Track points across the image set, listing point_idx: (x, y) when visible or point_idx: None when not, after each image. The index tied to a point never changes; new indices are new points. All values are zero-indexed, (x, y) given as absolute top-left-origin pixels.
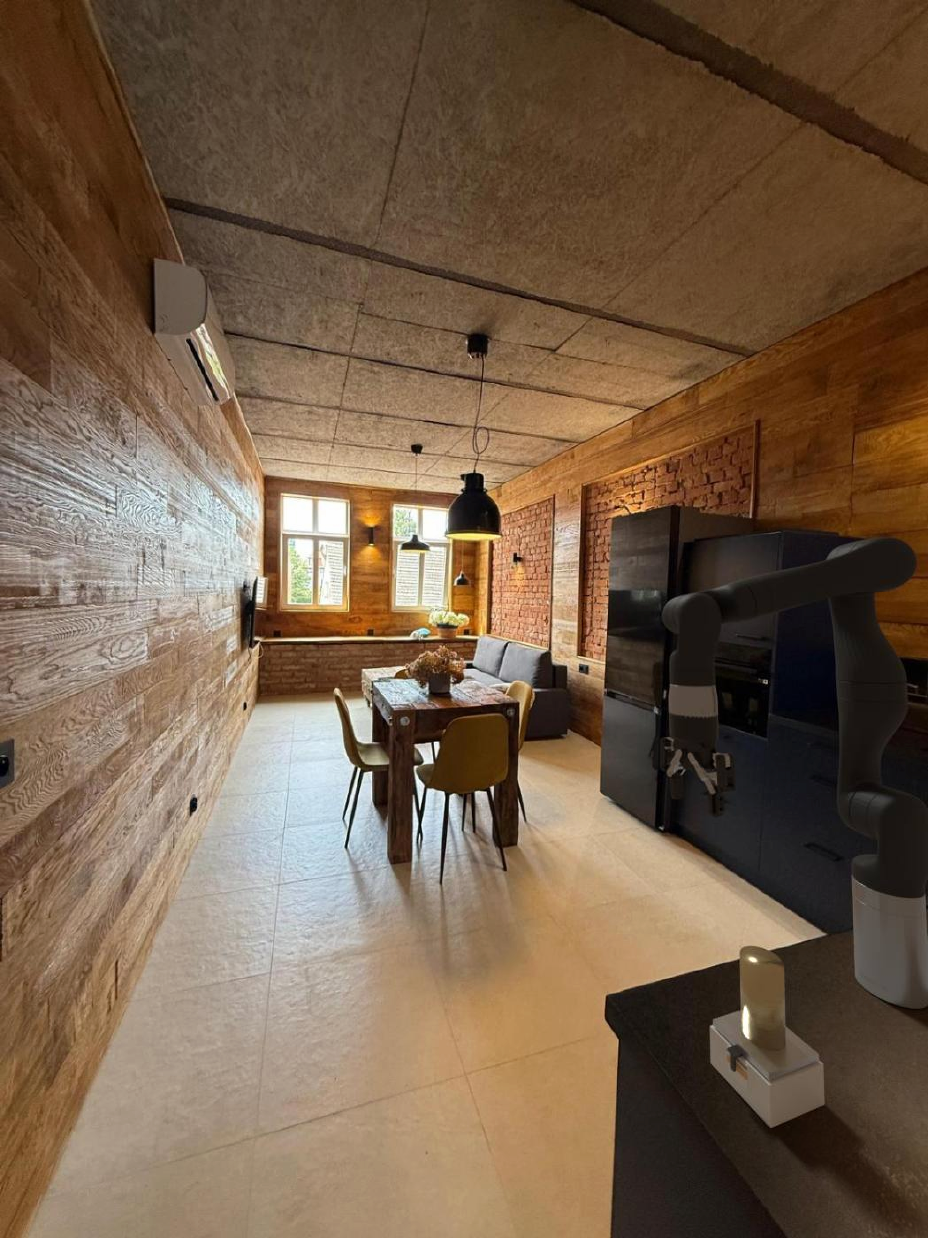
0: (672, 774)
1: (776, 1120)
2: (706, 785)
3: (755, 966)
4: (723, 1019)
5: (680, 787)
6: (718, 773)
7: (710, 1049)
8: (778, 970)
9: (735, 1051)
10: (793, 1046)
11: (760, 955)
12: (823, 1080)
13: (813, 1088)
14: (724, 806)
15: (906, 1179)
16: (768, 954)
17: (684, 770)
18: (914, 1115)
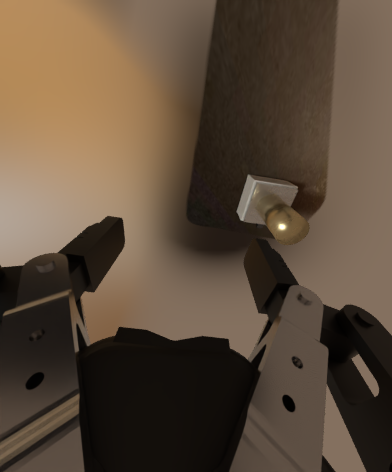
0: (82, 307)
1: None
2: (259, 337)
3: (291, 242)
4: (247, 216)
5: (107, 244)
6: (363, 437)
7: (238, 214)
8: (306, 233)
9: (261, 226)
10: (285, 198)
11: (290, 229)
12: (293, 184)
13: None
14: (284, 263)
15: (322, 184)
16: (295, 222)
17: (71, 285)
18: (327, 135)
